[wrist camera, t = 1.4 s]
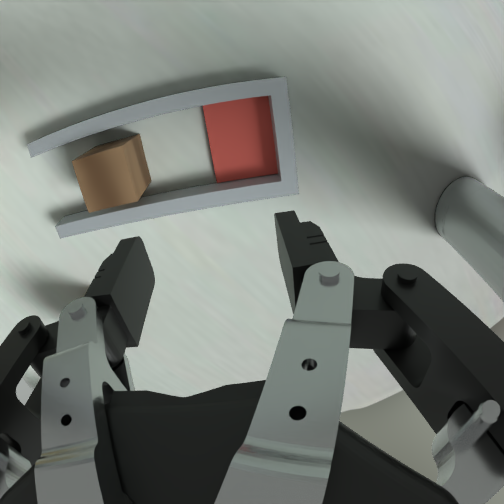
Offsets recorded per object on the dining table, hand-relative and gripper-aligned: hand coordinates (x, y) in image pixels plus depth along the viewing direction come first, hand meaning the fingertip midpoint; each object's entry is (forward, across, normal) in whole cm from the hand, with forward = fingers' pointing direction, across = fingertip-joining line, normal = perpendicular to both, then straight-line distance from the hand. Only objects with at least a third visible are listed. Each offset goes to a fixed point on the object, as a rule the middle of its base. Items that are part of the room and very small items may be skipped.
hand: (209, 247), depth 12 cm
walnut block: (+20, +10, 0) cm, 22 cm away
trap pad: (+19, -2, 0) cm, 20 cm away
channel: (+19, +7, 0) cm, 21 cm away
